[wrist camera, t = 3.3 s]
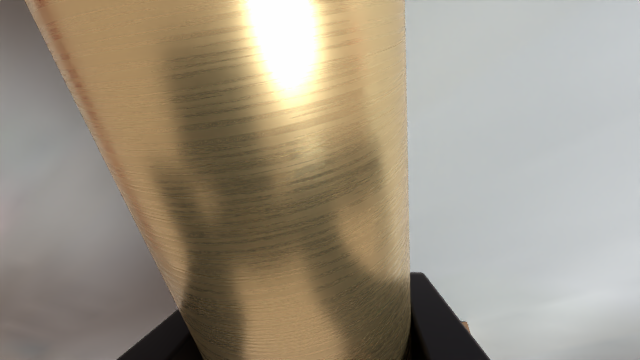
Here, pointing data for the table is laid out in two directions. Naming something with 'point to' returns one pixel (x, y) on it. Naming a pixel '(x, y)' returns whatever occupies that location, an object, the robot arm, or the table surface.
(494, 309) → the table surface
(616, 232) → the table surface
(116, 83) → the tube
